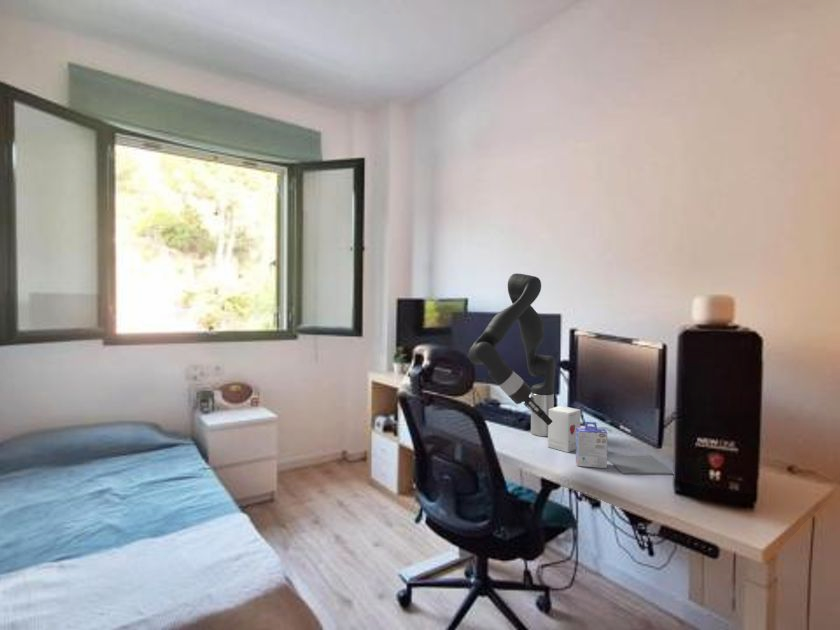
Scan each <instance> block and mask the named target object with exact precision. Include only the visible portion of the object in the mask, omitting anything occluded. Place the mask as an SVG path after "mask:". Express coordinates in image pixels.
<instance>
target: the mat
mask: <svg viewBox="0 0 840 630" xmlns="http://www.w3.org/2000/svg"><path fill="white" fill-rule="evenodd" d="M607 462H609V463H610V464H611V465H612V464H613V465H614V468H616V469H617V470H618V472H620V474H622V475H662V474H673V472H674V470H672V469H671V468H670V467H668V466H666V465H665V464H664V463H662V462H661V461H659V460H658V459H656V458H655V457H654V456H652V455H617V454H616V455H615V454H613V455H611V454H610V455H608V454H607ZM613 465H612V466H613Z"/></svg>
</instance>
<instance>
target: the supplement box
mask: <svg viewBox="0 0 840 630" xmlns="http://www.w3.org/2000/svg"><path fill="white" fill-rule="evenodd" d="M581 411H582V410H581V409H579V408H576V407H575V408H574V407H569V406H565V405H559V406H558V405H557V406H554V408H551V409H549V418H550V419H551V420H552V423H551V424H550V425H548V436H547V447H548V448H550V449H555V450H559V451H562V452H564V453H570V452H572V451H576V428H581Z"/></svg>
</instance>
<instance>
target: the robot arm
mask: <svg viewBox="0 0 840 630" xmlns="http://www.w3.org/2000/svg"><path fill="white" fill-rule="evenodd" d="M541 290H542V282H541V279H540V278H539V277H537V276H533V275H531V274H530V275H528V274H525V273H512V275H510V276H509V278H508V281H507V292H508V295H509V298H510V301H511V305H509V306H508V307H506V308H505V309H503V310H501V311H499V312H498V313H496V314H495V315H494V317H492V319H491V320H490V322H489V323H488V324H487V326H486V328H485V329H484V331H483V333H481V335H480V336H479V337H478V338H477V339H476V341H474V343H473V344H472V346H470V348H469V351H468V359H469V361H470V362H471V363H472V364H473V365H477V366H478V365H484V366H485V367H486V368H487V370H488V371H487V373H488V375H489V377H490V378H491V379H492V380H493V381H494V383H496V385H498V386H499V388H500V390H502V391H503V392H504V393H505V394H506V395H507V397H509V398H510V400H511V401H512V402H513V403H514V404H516V405H520V404H522V403H523V405H524V406H525V408H526V409H528V410H529V411H530V434H532V435H534V436H538V437H548V425H550V424H551V423H552V420H551V419H550V418H549V409H551V408H554V407H555V406H554V405H555V397H554V396H555V374H556V359H555V357H554V356H552V355H547V354H546V355H543V354H537V353H536V351H537V349H538V348H539V346H540V344H542V342H543V340H544V337H545V333H546V332H545V328H544V323H543V319H542V318H541V316H540V314H539V313H538V312H537V311H536V309H534V307H533V306H532V304H533V303H534V302H535V301H536V300H537V298H538V296H539V295H540V293H541ZM516 321H517V324H518V326H519V332H520V335H521V340H522V342H523V346H524V351H525V358H526V364H527V370H528V374H529V375H530V376H532V377H539V378H545V379H544V381H542V382H540V383H537V384H533V385H532V386H530V385H528V384H527V383H526V382H525V380H524V379H522V377H521V376H520V375H519V374H517V373H516V372H515V371H514V370H513V369H512V368H511V367H509V365H508V364H507V363H506V362H505V361H504V360H503V358H502V356H501V355H500V353H499V352H498V350H497V349H496V348H495V347H497V346H498V345H499V344H500V343H501V342H502V341H503V340H504V338H505V337H506V335H507V334H508V332H509V330H511V328H512V326H513V325H514V324H515V322H516ZM530 395H531V396H530Z"/></svg>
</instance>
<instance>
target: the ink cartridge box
mask: <svg viewBox="0 0 840 630" xmlns="http://www.w3.org/2000/svg"><path fill="white" fill-rule="evenodd" d="M592 425H593V426H592ZM607 455H608V432H607V430H606V429H605V428H598V425H597V422H594V421H585V427H580V428H576V449H575V464H576V466H577V467H587V468H600V469H601V468H602V469H607V468H608V467H607V466H608V460H607Z"/></svg>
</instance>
